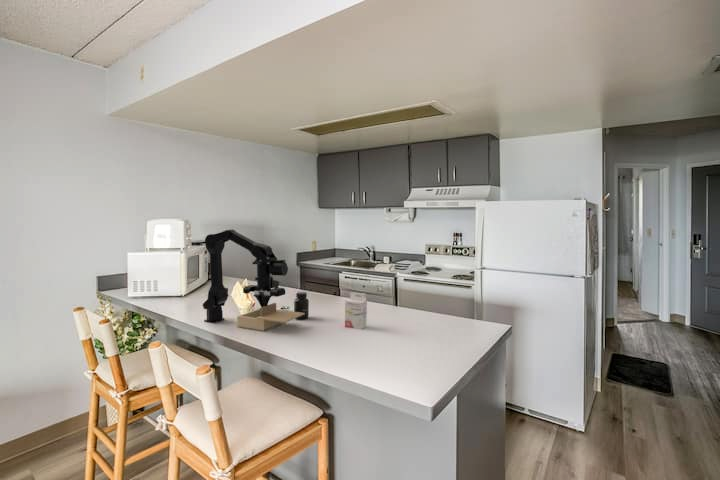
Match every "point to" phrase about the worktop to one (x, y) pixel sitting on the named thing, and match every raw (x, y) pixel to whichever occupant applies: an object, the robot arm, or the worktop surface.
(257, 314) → the mailer box
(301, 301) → the supplement bottle
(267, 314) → the lid
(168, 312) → the worktop surface
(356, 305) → the ink cartridge box
